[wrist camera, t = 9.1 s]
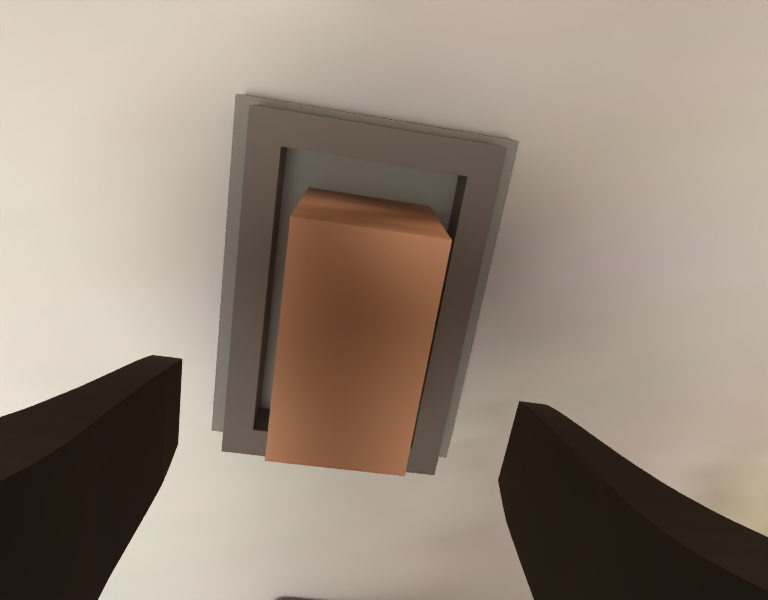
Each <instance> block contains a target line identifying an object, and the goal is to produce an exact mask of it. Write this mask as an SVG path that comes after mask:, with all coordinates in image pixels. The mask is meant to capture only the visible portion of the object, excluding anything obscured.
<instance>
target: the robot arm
mask: <svg viewBox="0 0 768 600" xmlns="http://www.w3.org/2000/svg"><path fill="white" fill-rule="evenodd" d="M181 375H182V359H180V358H172V357H164V356H156V355H151V356H148V357H145V358H142V359H140V360H138V361H135V362H133V363H131V364H129V365H126V366H124V367H122V368H120V369H118V370H116V371H113V372H111V373H109V374H107V375H105V376H102V377H100V378H98V379H96V380H94V381H91V382H89V383H87V384H85V385H83V386H80V387H78V388H76V389H73V390H71V391H68V392H66V393H63V394H61V395H58V396H56V397H54V398H51V399H49V400H46V401H44V402H41V403H39V404H36V405H34V406H31V407H28V408H26V409H23V410H20V411H17V412H14V413H11V414H8V415H5V416H2V417H0V600H98V598H99V596H100V594H101V592H102V590H103V589H104V587H105V585H106V583H107V581H108V579H109V577H110V575H111V574H112V572H113V570H114V568H115V567H116V565H117V563H118V561H119V560H120V558H121V556H122V554H123V553H124V551H125V549H126V547H127V546H128V544H129V542H130V540H131V539H132V537H133V535H134V533H135V532H136V530H137V528H138V526H139V525H140V523H141V521H142V519H143V518H144V516H145V514H146V512H147V511H148V509H149V507H150V505H151V503H152V502H153V500H154V498H155V496H156V495H157V493H158V491H159V489H160V487H161V485H162V483H163V481H164V478H165V476H166V474H167V471H168V469H169V466H170V464H171V461H172V458H173V456H174V453H175V451H176V448H177V445H178V435H179V415H180V395H181ZM498 482H499V487H500V493H501V498H502V503H503V508H504V513H505V517H506V522H507V525H508V528H509V531H510V534H511V537H512V539H513V542H514V545H515V548H516V551H517V554H518V557H519V559H520V562H521V565H522V568H523V570H524V573H525V576H526V579H527V582H528V584H529V587H530V590H531V593H532V595H533V598H534V600H768V537H766V536H764V535H762V534H760V533H758V532H755V531H753V530H751V529H749V528H747V527H745V526H743V525H740V524H738V523H736V522H734V521H732V520H730V519H728V518H726V517H724V516H722V515H720V514H718V513H716V512H714V511H712V510H710V509H708V508H706V507H705V506H703V505H701V504H699V503H697V502H696V501H694V500H692V499H690V498H688V497H687V496H685V495H683V494H681V493H679V492H678V491H676V490H674V489H672V488H671V487H669V486H667V485H666V484H664V483H662V482H661V481H659V480H658V479H656V478H655V477H653V476H651V475H650V474H648V473H647V472H645V471H644V470H642V469H641V468H639V467H637V466H636V465H634V464H633V463H631V462H630V461H629V460H627V459H626V458H624V457H623V456H621V455H620V454H618V453H617V452H615V451H614V450H613V449H611V448H610V447H608V446H607V445H605V444H604V443H603V442H601V441H600V440H598V439H597V438H596V437H594V436H593V435H592V434H590V433H589V432H587V431H586V430H585V429H583V428H582V427H580V426H579V425H578V424H576V423H575V422H573V421H572V420H570V419H569V418H568V417H566V416H565V415H563V414H562V413H560V412H559V411H557V410H555V409H554V408H552V407H550V406H548V405H545V404H537V403H529V402H521V401H519V404H518V408H517V412H516V415H515V419H514V423H513V427H512V430H511V434H510V438H509V442H508V445H507V449H506V453H505V457H504V460H503V464H502V468H501V472H500V475H499V479H498Z"/></svg>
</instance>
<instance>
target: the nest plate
mask: <svg viewBox="0 0 768 600" xmlns="http://www.w3.org/2000/svg"><path fill="white" fill-rule="evenodd" d="M517 146H518V141H514V140H510V139H504V138H498V137H492V136H486V135H480V134H474V133H468V132H462V131H457V130H451V129H445V128H439V127H433V126H427V125H421V124H415V123H409V122H403V121H397V120H391V119H385V118H379V117H373V116H367V115H361V114H355V113H349V112H343V111H337V110H331V109H325V108H319V107H314V106H308V105H302V104H296V103H290V102H284V101H278V100H272V99H266V98H260V97H254V96H248V95H240V94H236V98H235V112H234V126H233V140H232V154H231V168H230V182H229V196H228V210H227V224H226V238H225V252H224V266H223V280H222V294H221V308H220V322H219V336H218V350H217V364H216V378H215V392H214V406H213V420H212V431H221V432H223V441H222V451H224V452H233V453H242V454H251V455H259V456H265V454H266V444H267V435H268V425H269V416H270V406H271V397H272V387H273V378H274V368H275V359H276V349H277V340H278V330H279V321H280V311H281V301H282V292H283V282H284V273H285V263H286V254H287V244H288V235H289V225H290V216H291V215H292V213H293V211H294V210H295V208H296V207H297V205H298V203H299V202H300V200H301V199H302V197H303V195H304V194H305V192H306V191H307V189H308V187H310V188H316V189H323V190H329V191H336V192H343V193H349V194H356V195H362V196H369V197H375V198H382V199H389V200H395V201H402V202H408V203H415V204H421V205H428V206H430V208H431V209H432V211H433V212H434V214H435V215H436V217H437V218H438V220H439V221H440V223H441V224H442V226H443V227H444V229H445V230H446V232H447V233H448V235H449V236H450V238H451V239H452V243H451V248H450V252H449V257H448V262H447V267H446V272H445V277H444V282H443V287H442V292H441V297H440V302H439V307H438V312H437V317H436V322H435V327H434V332H433V337H432V342H431V347H430V352H429V357H428V362H427V367H426V372H425V377H424V382H423V387H422V392H421V397H420V402H419V407H418V412H417V417H416V422H415V427H414V432H413V437H412V442H411V447H410V452H409V457H408V462H407V467H406V472H411V473H420V474H428V475H434V474H435V470H436V466H437V461H438V457H447V452H448V448H449V443H450V439H451V435H452V430H453V426H454V422H455V417H456V413H457V408H458V404H459V400H460V395H461V391H462V387H463V382H464V378H465V373H466V369H467V365H468V360H469V356H470V352H471V347H472V343H473V339H474V334H475V330H476V325H477V321H478V317H479V312H480V308H481V304H482V299H483V295H484V290H485V286H486V282H487V277H488V273H489V269H490V264H491V260H492V255H493V251H494V247H495V242H496V238H497V234H498V229H499V225H500V220H501V216H502V212H503V207H504V203H505V199H506V194H507V190H508V186H509V181H510V177H511V172H512V168H513V164H514V159H515V155H516V151H517Z"/></svg>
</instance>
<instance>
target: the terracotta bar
mask: <svg viewBox="0 0 768 600" xmlns="http://www.w3.org/2000/svg"><path fill="white" fill-rule="evenodd" d="M451 243H452V239H451V238H450V236H449V235H448V233H447V232H446V230H445V229H444V227H443V226H442V224H441V223H440V221H439V220H438V218H437V217H436V215H435V214H434V212H433V211H432V209H431V208H430V206H428V205H421V204H415V203H408V202H402V201H395V200H389V199H382V198H375V197H369V196H362V195H356V194H349V193H343V192H336V191H329V190H323V189H316V188H310V187H308V189H307V191H306V192H305V194H304V195H303V197H302V199H301V200H300V202H299V203H298V205H297V207H296V208H295V210H294V211H293V213H292V215H291V216H290V225H289V235H288V244H287V254H286V263H285V273H284V282H283V292H282V301H281V311H280V321H279V330H278V340H277V349H276V359H275V368H274V378H273V387H272V397H271V406H270V416H269V425H268V435H267V444H266V454H265V461H272V462H281V463H290V464H299V465H308V466H317V467H327V468H336V469H345V470H354V471H363V472H372V473H381V474H391V475H400V476H405V472H406V467H407V462H408V457H409V452H410V447H411V442H412V437H413V432H414V427H415V422H416V417H417V412H418V407H419V402H420V397H421V392H422V387H423V382H424V377H425V372H426V367H427V362H428V357H429V352H430V347H431V342H432V337H433V332H434V327H435V322H436V317H437V312H438V307H439V302H440V297H441V292H442V287H443V282H444V277H445V272H446V267H447V262H448V257H449V252H450V248H451Z"/></svg>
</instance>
